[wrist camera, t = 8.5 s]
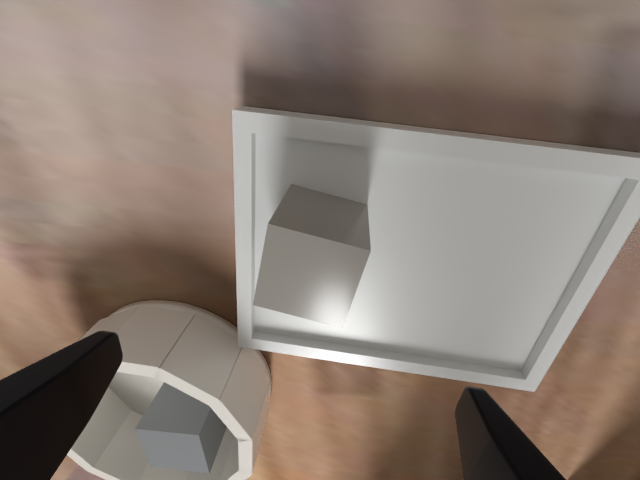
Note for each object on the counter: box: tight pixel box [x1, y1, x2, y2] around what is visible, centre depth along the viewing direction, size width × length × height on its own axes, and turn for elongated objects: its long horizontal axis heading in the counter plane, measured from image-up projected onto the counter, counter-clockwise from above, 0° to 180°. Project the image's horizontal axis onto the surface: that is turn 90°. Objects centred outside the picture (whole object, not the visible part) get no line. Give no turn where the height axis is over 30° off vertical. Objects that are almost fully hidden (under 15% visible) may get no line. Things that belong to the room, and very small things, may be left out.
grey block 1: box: [135, 382, 227, 474], centre depth 20 cm, size 4×4×4 cm
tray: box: [232, 106, 640, 392], centre depth 16 cm, size 17×13×2 cm
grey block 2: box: [253, 184, 371, 328], centre depth 14 cm, size 4×4×4 cm
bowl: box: [67, 300, 272, 480], centre depth 21 cm, size 13×13×5 cm
